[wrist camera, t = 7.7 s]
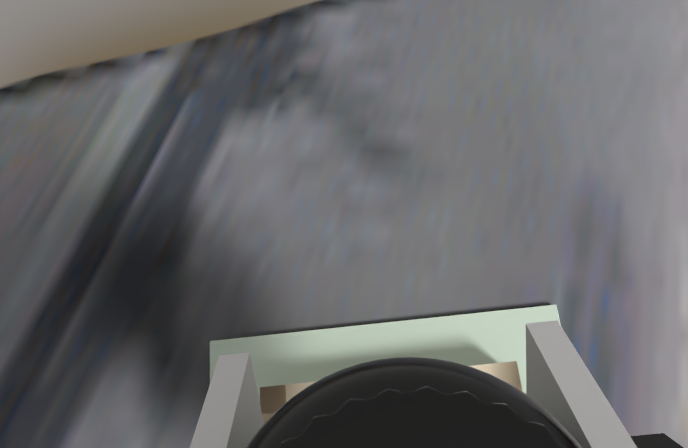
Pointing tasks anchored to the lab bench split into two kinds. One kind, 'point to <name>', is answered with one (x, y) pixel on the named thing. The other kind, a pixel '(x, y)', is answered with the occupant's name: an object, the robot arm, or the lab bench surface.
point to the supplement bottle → (412, 410)
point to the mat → (387, 345)
